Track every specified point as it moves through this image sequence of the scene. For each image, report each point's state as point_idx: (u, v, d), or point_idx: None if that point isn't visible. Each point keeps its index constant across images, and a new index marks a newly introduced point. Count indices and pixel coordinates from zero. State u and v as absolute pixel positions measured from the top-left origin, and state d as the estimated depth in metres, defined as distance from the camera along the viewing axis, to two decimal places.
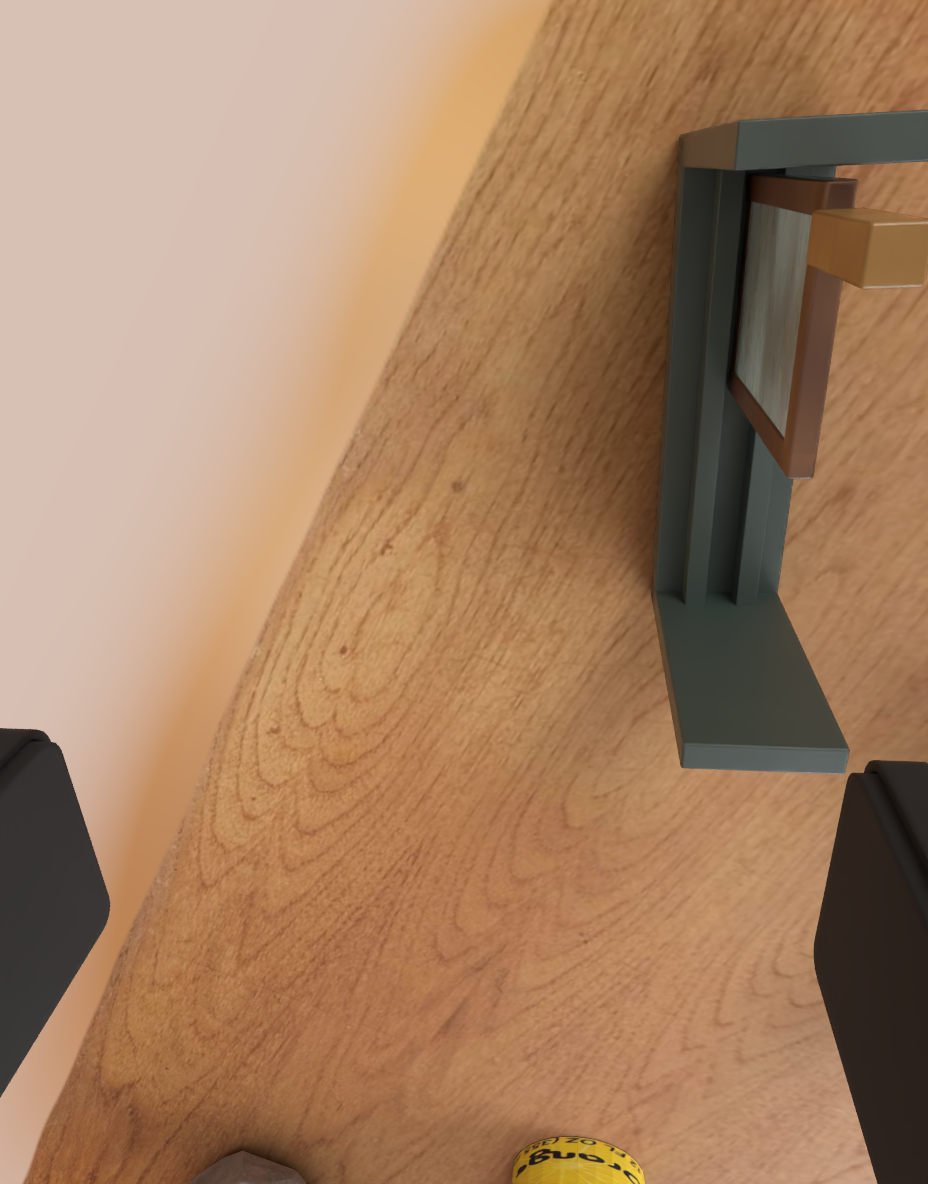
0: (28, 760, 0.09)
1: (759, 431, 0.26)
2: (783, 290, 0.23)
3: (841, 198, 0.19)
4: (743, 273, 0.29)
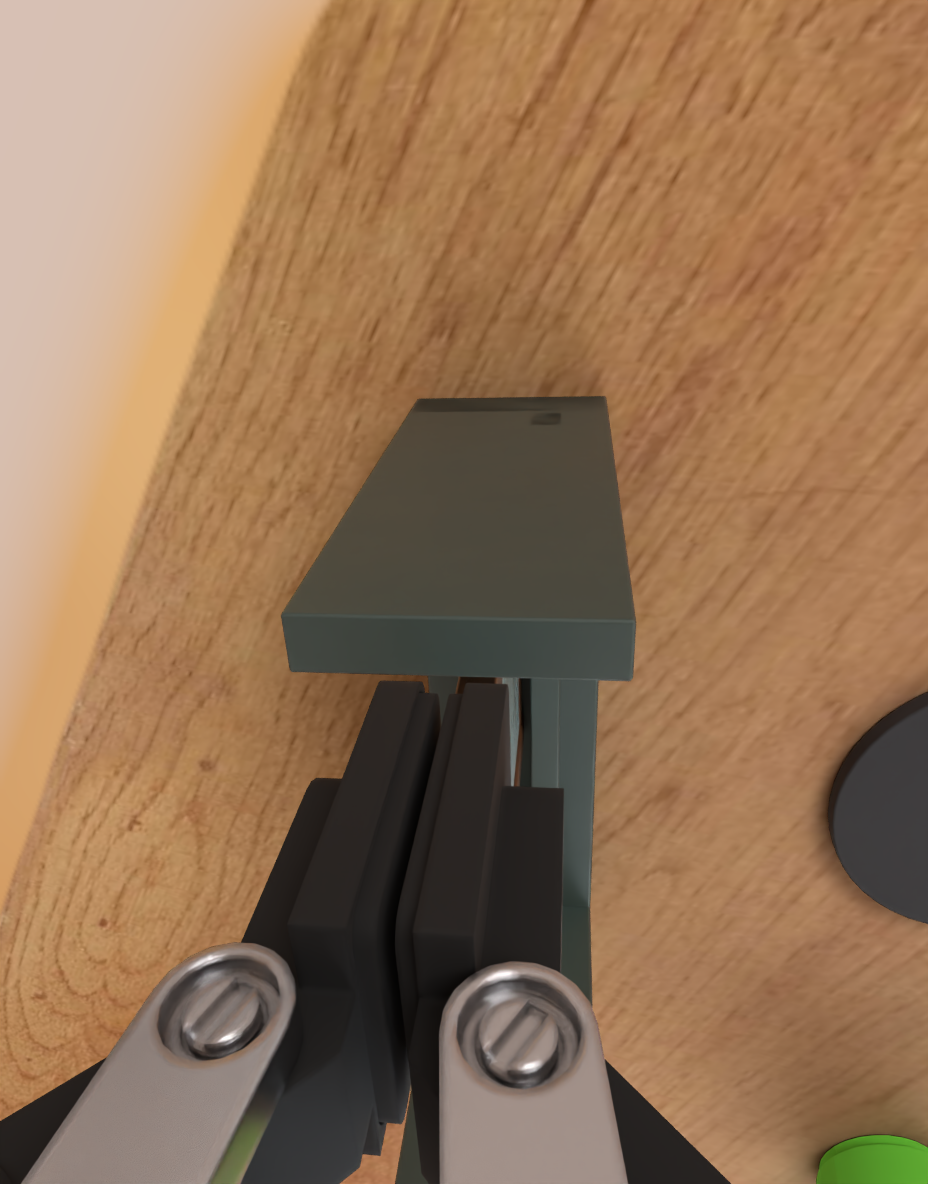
0: (429, 708, 0.10)
1: None
2: None
3: None
4: None
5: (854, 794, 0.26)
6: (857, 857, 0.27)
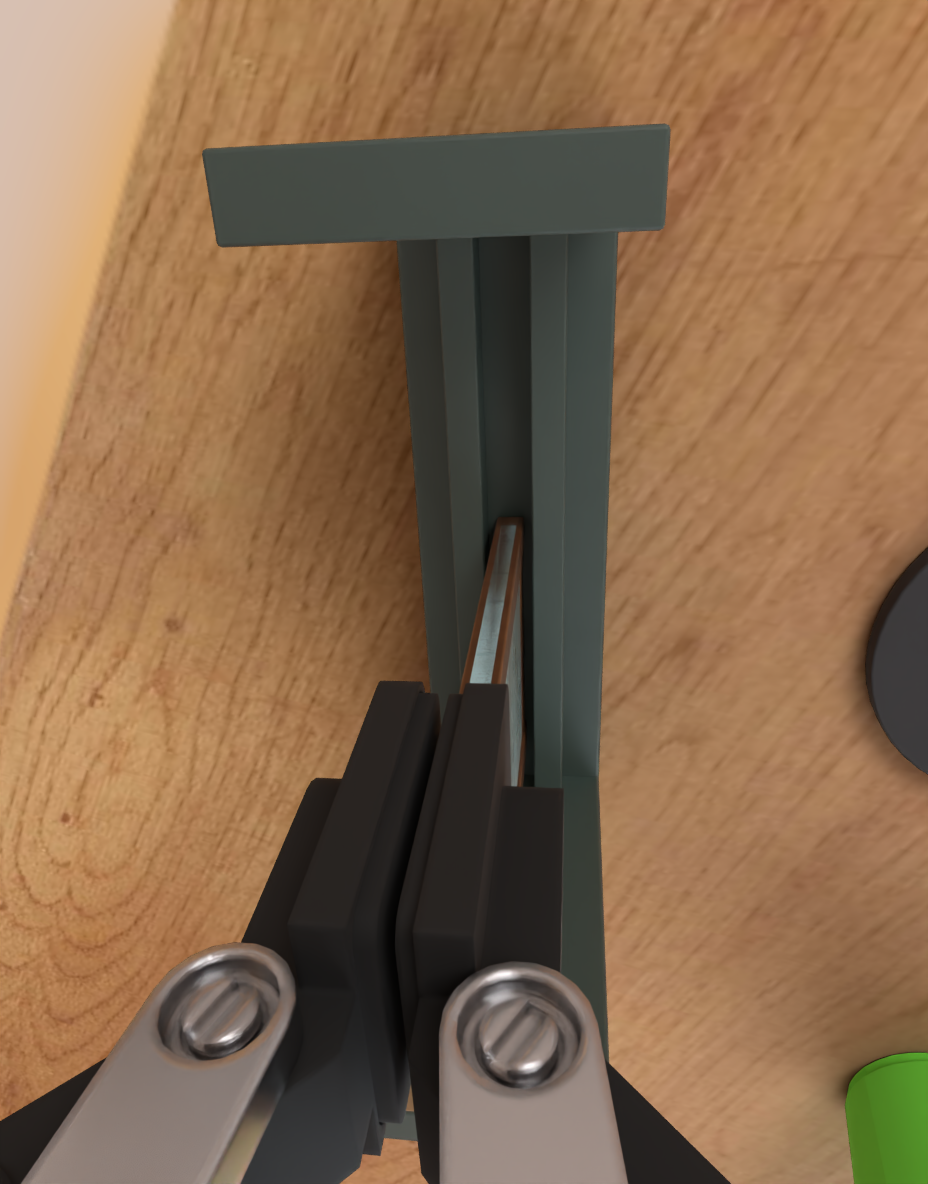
0: (429, 709, 0.10)
1: None
2: None
3: None
4: None
5: (896, 636, 0.23)
6: (898, 714, 0.24)
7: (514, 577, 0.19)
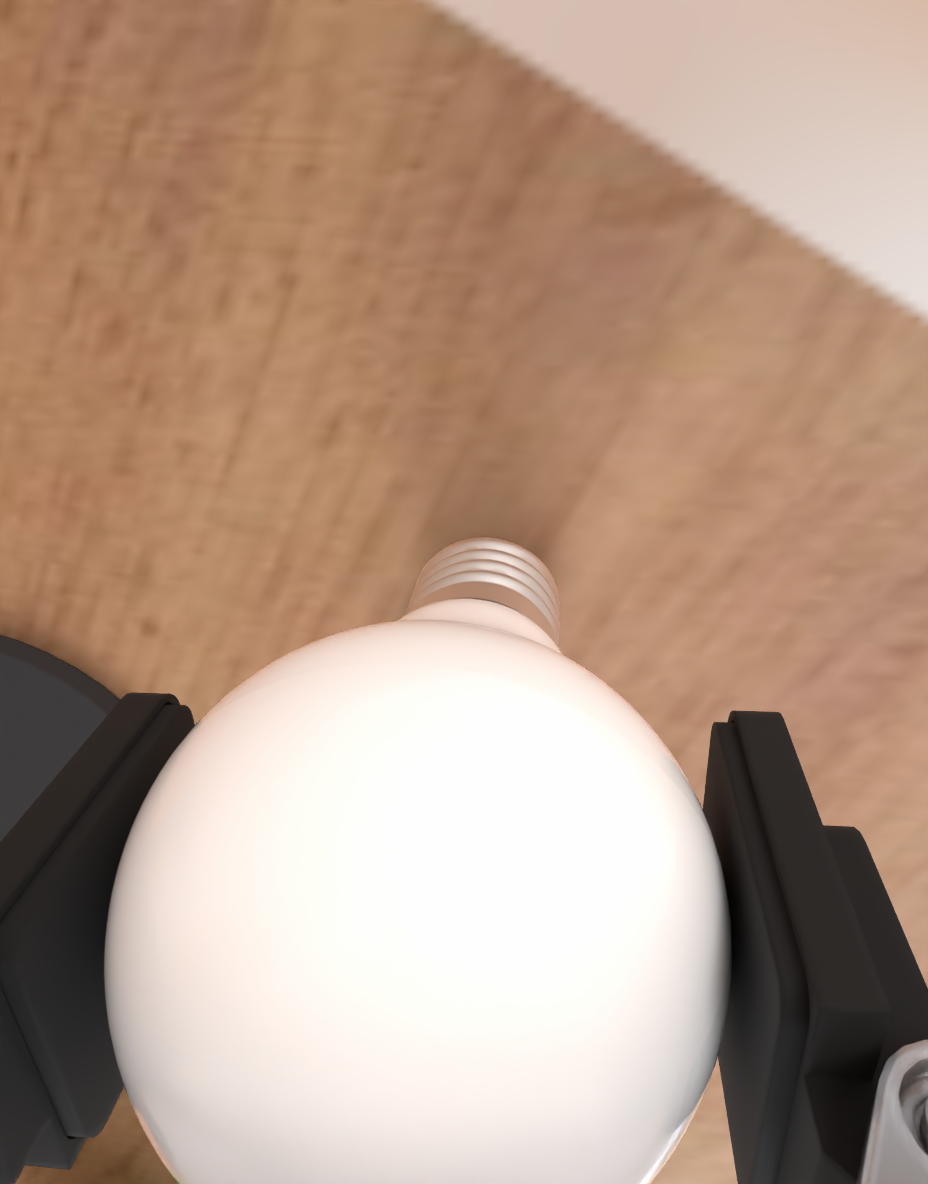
0: (168, 721, 0.10)
1: None
2: None
3: None
4: None
5: None
6: None
7: None
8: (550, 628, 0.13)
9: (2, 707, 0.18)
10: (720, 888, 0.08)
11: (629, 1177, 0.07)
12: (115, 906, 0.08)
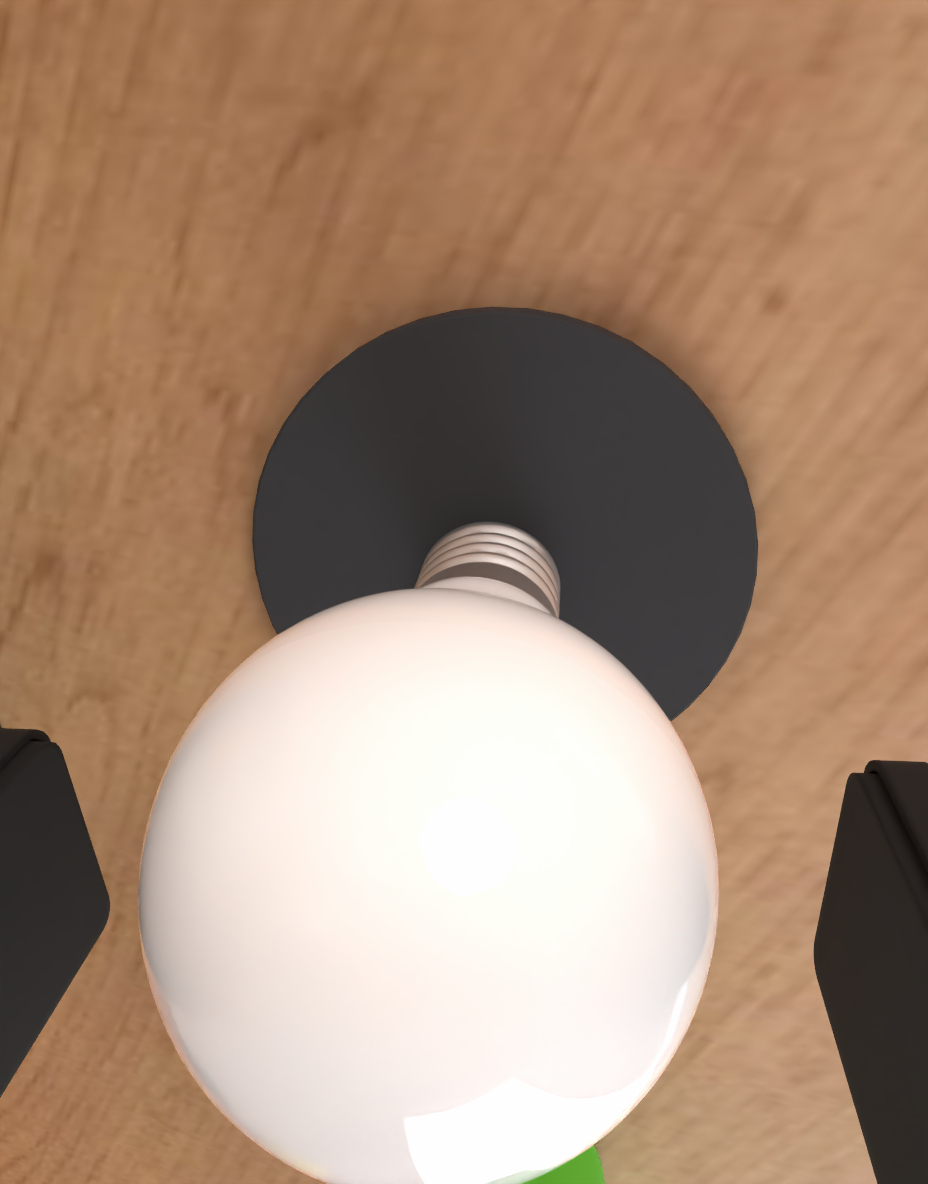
0: (28, 760, 0.09)
1: None
2: None
3: None
4: None
5: (274, 544, 0.17)
6: None
7: None
8: (550, 606, 0.14)
9: (573, 409, 0.15)
10: (707, 830, 0.08)
11: (621, 1086, 0.07)
12: (150, 844, 0.08)
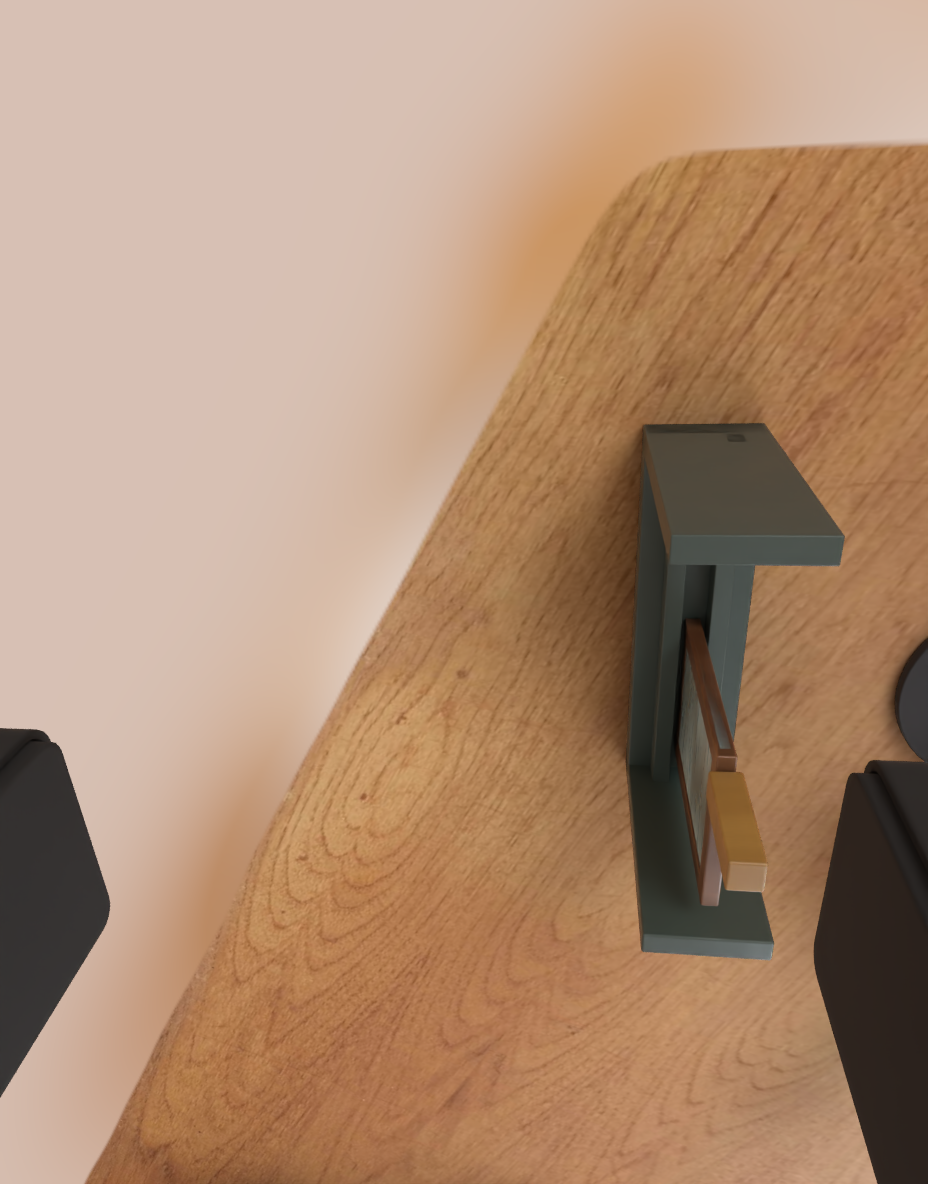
0: (28, 760, 0.09)
1: (688, 831, 0.36)
2: (700, 759, 0.33)
3: (727, 765, 0.29)
4: (682, 682, 0.39)
5: (914, 684, 0.39)
6: (914, 730, 0.40)
7: (710, 660, 0.35)
8: None
9: None
10: None
11: None
12: None
